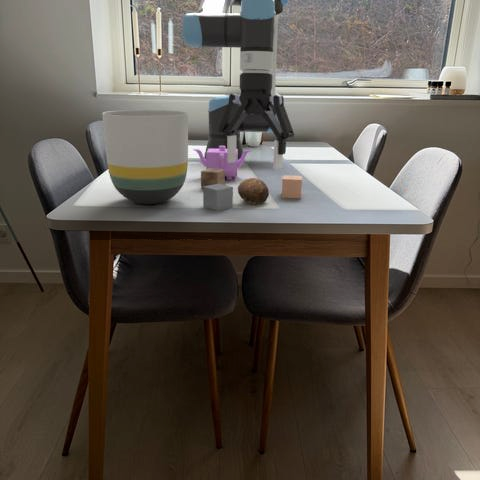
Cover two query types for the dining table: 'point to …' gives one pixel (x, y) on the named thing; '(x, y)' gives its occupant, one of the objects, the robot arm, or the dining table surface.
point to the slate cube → (217, 197)
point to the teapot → (222, 161)
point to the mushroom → (253, 191)
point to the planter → (146, 153)
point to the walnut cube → (212, 177)
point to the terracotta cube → (291, 186)
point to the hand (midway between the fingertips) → (253, 165)
